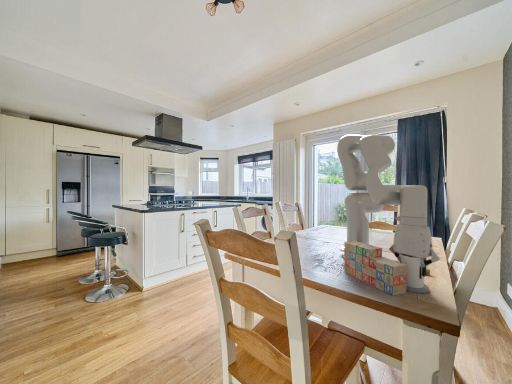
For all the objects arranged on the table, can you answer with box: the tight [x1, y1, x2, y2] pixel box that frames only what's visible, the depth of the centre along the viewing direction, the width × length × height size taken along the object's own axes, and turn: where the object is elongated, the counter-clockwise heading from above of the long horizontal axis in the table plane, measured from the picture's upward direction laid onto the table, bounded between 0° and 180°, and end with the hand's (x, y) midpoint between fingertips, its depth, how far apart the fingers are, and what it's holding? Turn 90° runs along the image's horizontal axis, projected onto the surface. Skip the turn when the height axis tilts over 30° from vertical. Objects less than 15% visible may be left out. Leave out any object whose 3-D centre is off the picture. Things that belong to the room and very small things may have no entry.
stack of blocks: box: [343, 241, 407, 296], centre depth 77 cm, size 21×6×12 cm, turn 19°
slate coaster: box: [406, 283, 430, 295], centre depth 72 cm, size 9×9×1 cm
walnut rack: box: [396, 260, 431, 276], centre depth 85 cm, size 12×13×2 cm
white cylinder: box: [400, 254, 425, 288], centre depth 73 cm, size 7×7×10 cm
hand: (412, 274), depth 73 cm, fingers open, 4 cm apart
